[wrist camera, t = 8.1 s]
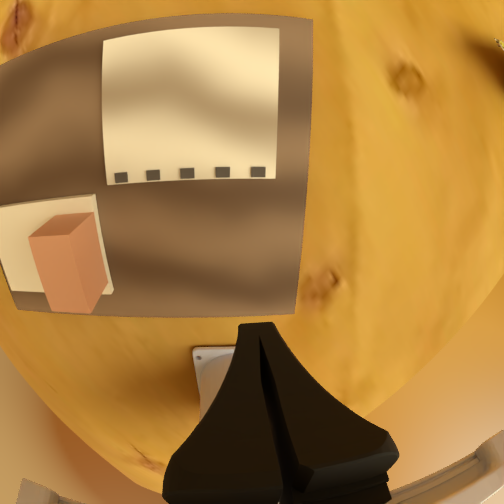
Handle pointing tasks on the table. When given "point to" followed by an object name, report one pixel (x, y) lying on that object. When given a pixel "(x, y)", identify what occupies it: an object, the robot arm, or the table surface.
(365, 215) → the table surface
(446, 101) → the table surface
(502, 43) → the origami crane
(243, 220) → the board
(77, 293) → the stub
